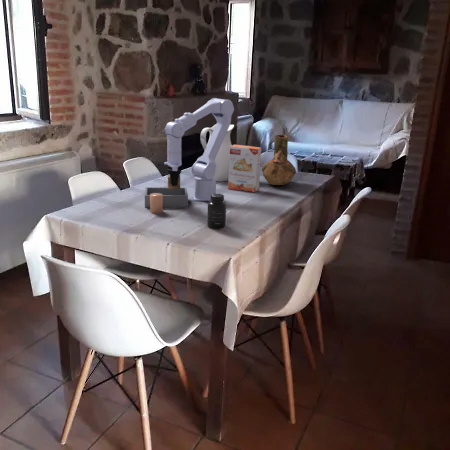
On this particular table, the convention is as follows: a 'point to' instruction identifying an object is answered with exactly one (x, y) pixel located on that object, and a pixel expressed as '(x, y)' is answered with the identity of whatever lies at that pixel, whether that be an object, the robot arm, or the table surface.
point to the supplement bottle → (216, 212)
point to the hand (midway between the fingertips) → (174, 184)
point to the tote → (168, 197)
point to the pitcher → (220, 154)
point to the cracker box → (244, 168)
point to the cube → (171, 184)
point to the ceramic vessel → (279, 164)
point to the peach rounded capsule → (156, 203)
